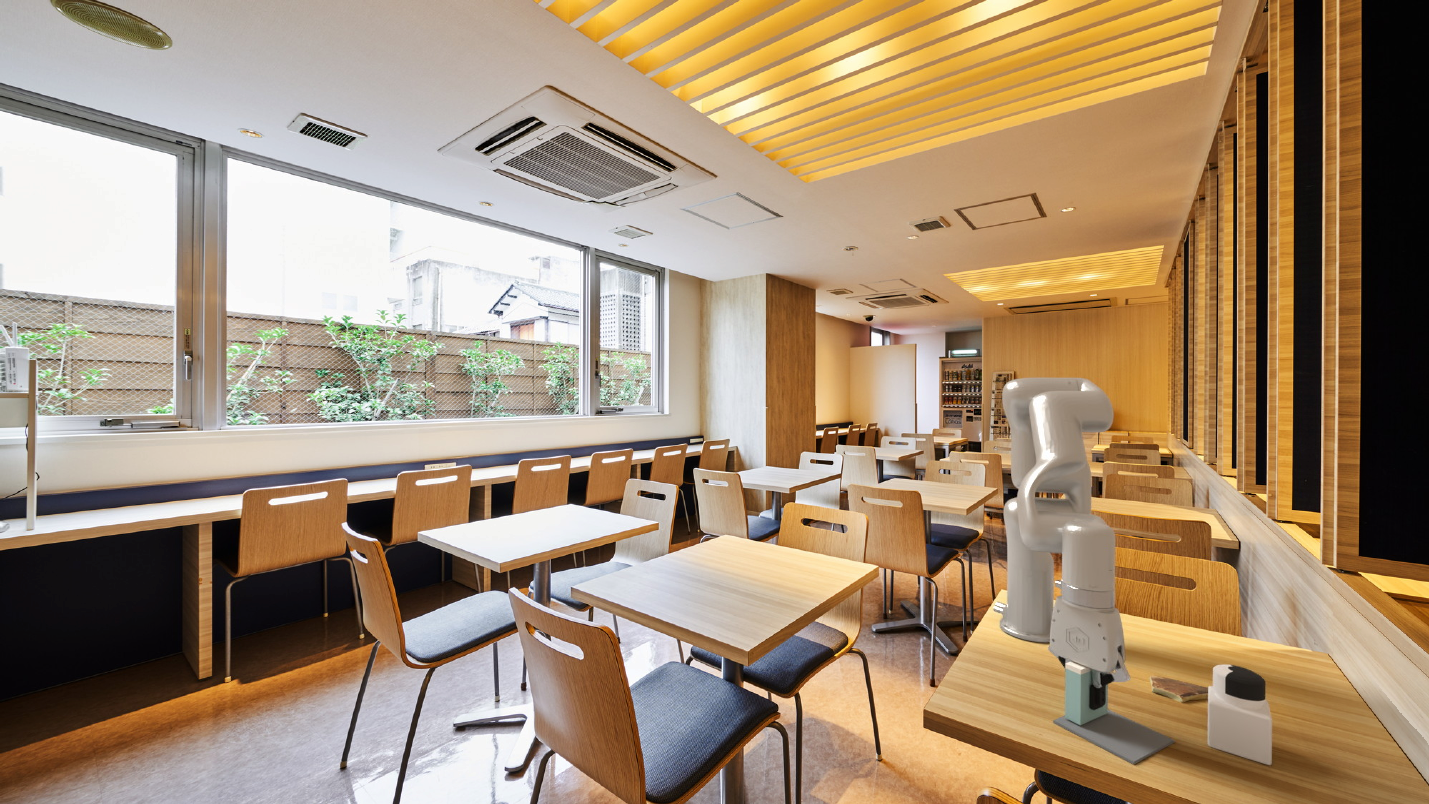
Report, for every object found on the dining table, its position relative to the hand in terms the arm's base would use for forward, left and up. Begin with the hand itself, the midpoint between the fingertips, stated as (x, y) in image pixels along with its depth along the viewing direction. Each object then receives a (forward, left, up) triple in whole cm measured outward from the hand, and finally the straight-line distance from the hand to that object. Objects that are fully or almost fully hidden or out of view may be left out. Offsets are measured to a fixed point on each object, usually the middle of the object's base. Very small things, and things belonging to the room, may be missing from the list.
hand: (1086, 702), depth 94 cm
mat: (+4, 0, -3) cm, 5 cm away
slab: (0, 0, -2) cm, 2 cm away
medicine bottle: (+15, +14, -3) cm, 21 cm away
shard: (+2, +26, -4) cm, 26 cm away
